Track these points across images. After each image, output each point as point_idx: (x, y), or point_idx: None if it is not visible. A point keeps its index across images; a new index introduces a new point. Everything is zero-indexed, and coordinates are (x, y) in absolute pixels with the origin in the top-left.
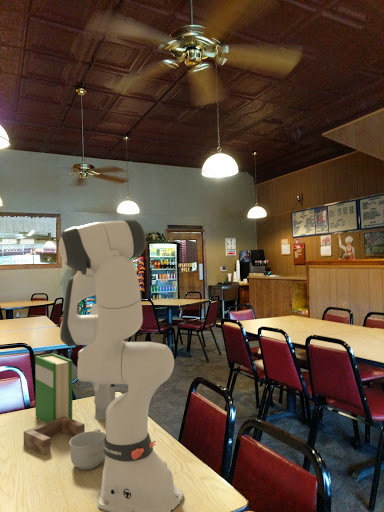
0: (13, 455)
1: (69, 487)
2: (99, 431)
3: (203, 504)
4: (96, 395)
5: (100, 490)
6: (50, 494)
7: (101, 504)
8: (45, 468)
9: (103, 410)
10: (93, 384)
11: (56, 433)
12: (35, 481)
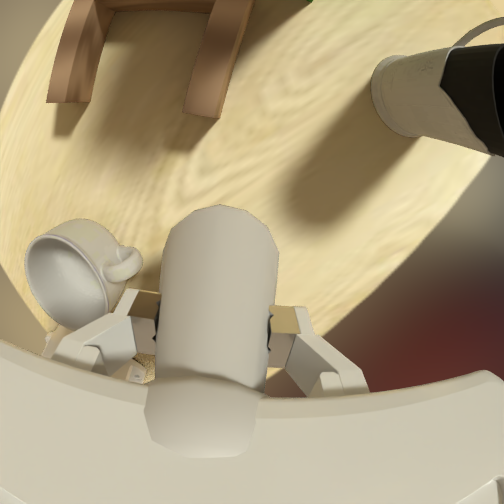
0: (51, 36)
1: None
2: (104, 297)
3: None
4: (162, 269)
5: (57, 329)
6: (13, 252)
7: (46, 342)
8: (38, 168)
9: (396, 104)
10: (99, 323)
11: (198, 11)
12: (11, 194)
